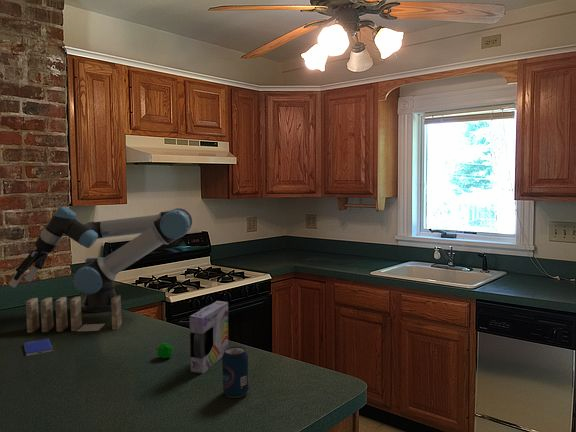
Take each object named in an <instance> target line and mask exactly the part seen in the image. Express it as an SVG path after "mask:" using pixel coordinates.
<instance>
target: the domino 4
mask: <svg viewBox="0 0 576 432" xmlns="http://www.w3.org/2000/svg"><path fill="white" fill-rule="evenodd" d="M69 309H70V311H69V312H70V328H71V329H70V330H71V331H72V332H78V331H77V330H79V329H80V328H81V327H82V326H83V318H82V317H83V316H82V298H81V296H74V297H72V298H71V299H69Z"/></svg>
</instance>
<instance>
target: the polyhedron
mask: <svg viewBox="0 0 576 432" xmlns="http://www.w3.org/2000/svg"><path fill="white" fill-rule="evenodd" d="M173 351H174V348H173V346H172V345H171V344H169V343H167V342H162V343H161V344H160V345H159V346H158V347H157V349H156V354H157V356H158V357H159V358H161V359H163V360H165V359H168V358H170V357H171V356H172V355H173Z"/></svg>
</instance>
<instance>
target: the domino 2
mask: <svg viewBox="0 0 576 432" xmlns="http://www.w3.org/2000/svg"><path fill="white" fill-rule="evenodd" d="M39 302H40V318H41V332H42V333H46V332H47V333H48V332H49V331H50V330H52V329H53V328H54V310H53V309H54V307H53V306H54V305H53V297H52V296H51V297H50V296H49V297H46V298H43V299H42V300H40V301H39Z"/></svg>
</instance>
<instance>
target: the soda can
mask: <svg viewBox="0 0 576 432" xmlns="http://www.w3.org/2000/svg"><path fill="white" fill-rule="evenodd" d="M221 360H222V361H221V363H222V368H221V369H222V391H223V393H224V394H225V395H226V397H228V398H232V399H233V398H234V399H236V398H241V397H244V396H246V395H247V393H248V391H249V389H250V387H249V384H250V383H249V381H250V380H249V379H250V378H249V355H248V353H247V349H246V348H245V347H242V346H230V347H229V346H228V348H227V349H225V350H224V354H223V356H222V358H221Z"/></svg>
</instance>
